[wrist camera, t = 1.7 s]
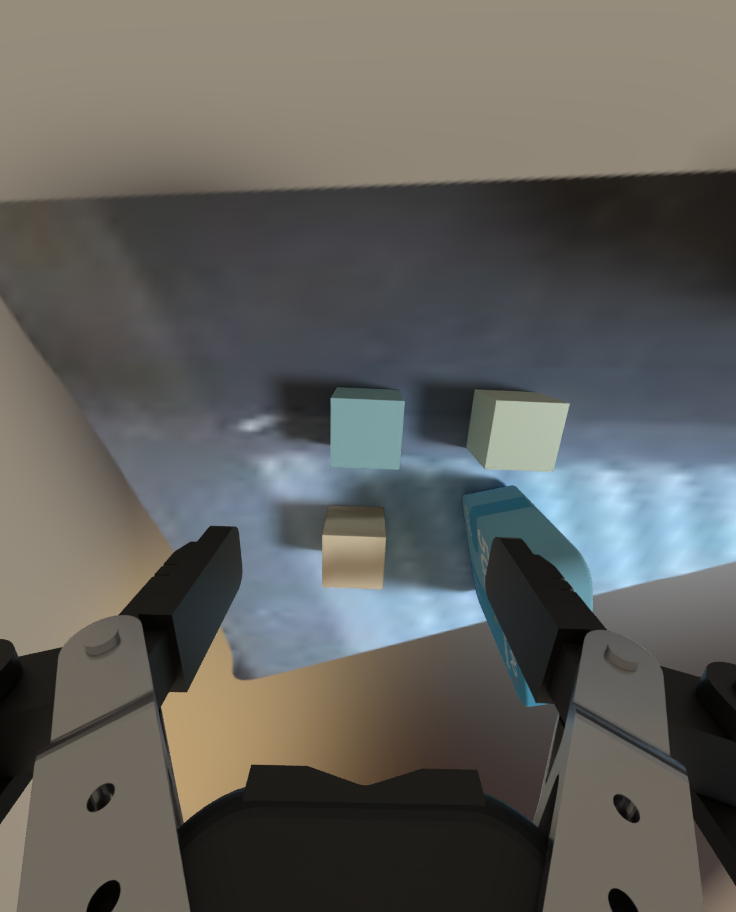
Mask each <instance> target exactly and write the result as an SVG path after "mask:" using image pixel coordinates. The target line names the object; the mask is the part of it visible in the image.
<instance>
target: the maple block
mask: <svg viewBox="0 0 736 912" xmlns="http://www.w3.org/2000/svg"><path fill="white" fill-rule="evenodd" d="M385 548H386V529H385V518H384V507H362V506H336V505H329V508H328V512H327V517H326V521H325V525H324V530H323V534H322V587H336V588H364V589H383V576H384V562H385Z"/></svg>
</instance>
